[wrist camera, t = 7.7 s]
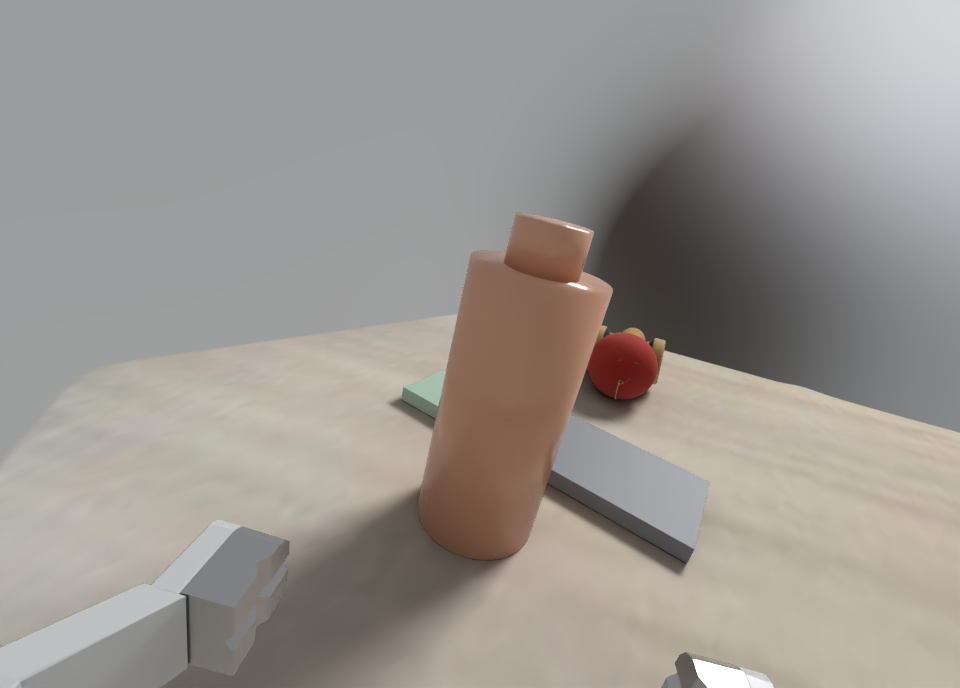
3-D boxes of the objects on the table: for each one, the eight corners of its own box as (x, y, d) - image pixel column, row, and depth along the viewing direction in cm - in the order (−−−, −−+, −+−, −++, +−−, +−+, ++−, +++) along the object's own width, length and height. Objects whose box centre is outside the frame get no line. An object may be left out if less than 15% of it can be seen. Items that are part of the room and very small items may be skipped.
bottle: (549, 513, 24) (645, 241, 19) (493, 584, 19) (601, 243, 14) (461, 460, 27) (524, 208, 22) (392, 510, 22) (451, 200, 17)
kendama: (587, 348, 56) (560, 376, 39) (613, 303, 54) (596, 313, 37) (644, 380, 54) (641, 424, 37) (673, 335, 52) (684, 360, 35)
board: (704, 494, 29) (710, 482, 29) (686, 563, 23) (694, 549, 23) (461, 372, 38) (463, 362, 38) (401, 399, 32) (403, 387, 32)
